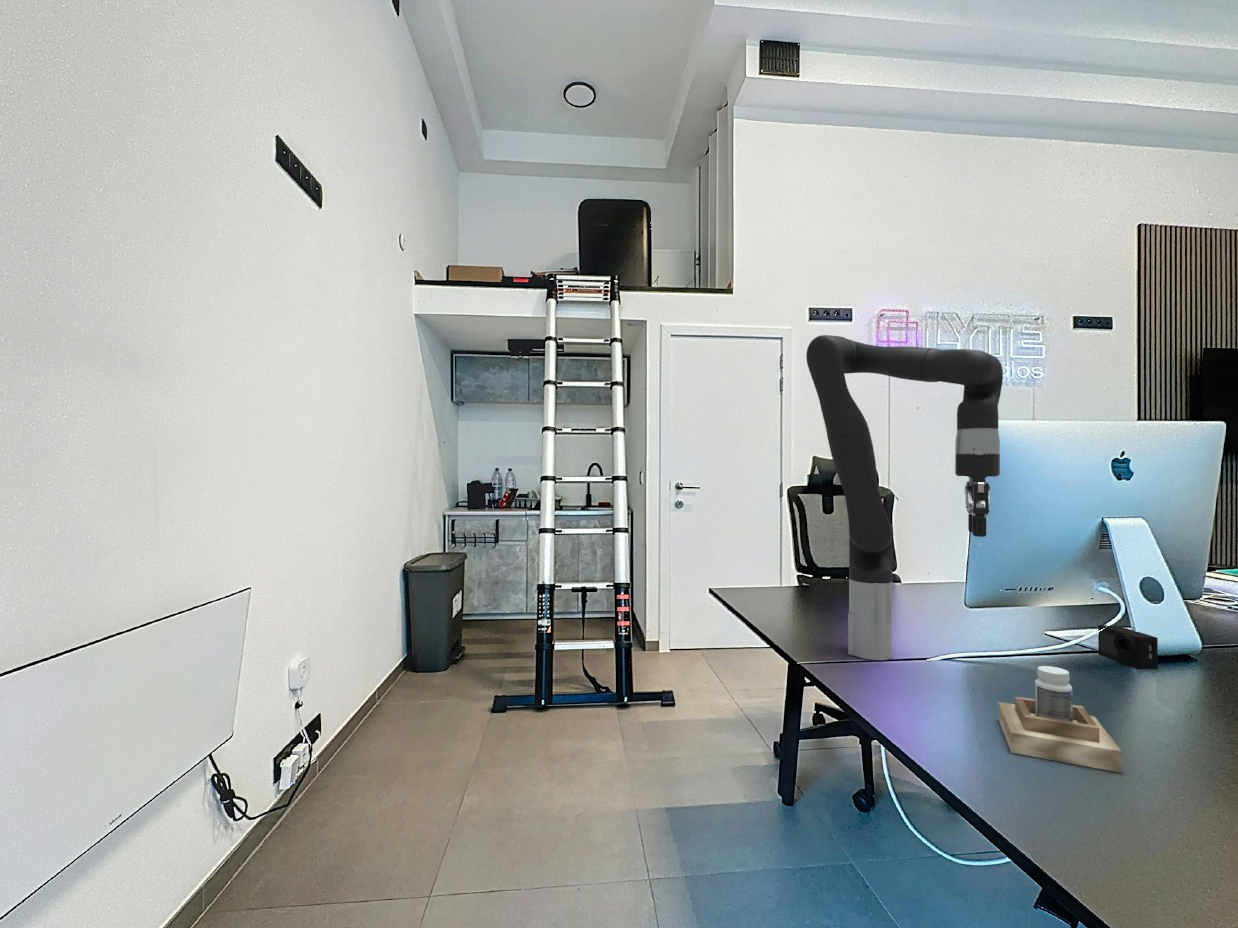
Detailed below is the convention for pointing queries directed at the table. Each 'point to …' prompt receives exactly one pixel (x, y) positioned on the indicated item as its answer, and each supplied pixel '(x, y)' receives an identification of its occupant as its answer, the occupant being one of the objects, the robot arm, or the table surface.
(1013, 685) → the table surface
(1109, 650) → the digital camera
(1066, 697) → the pill bottle
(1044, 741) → the wooden base
